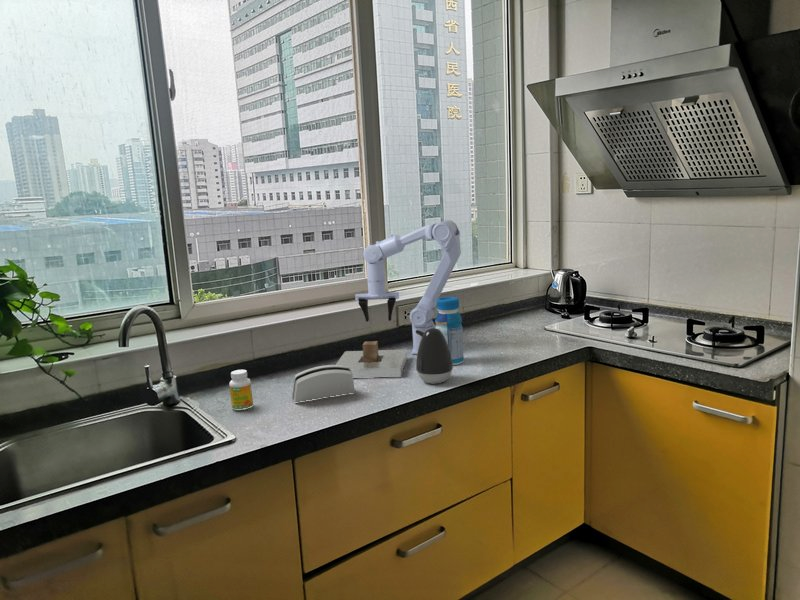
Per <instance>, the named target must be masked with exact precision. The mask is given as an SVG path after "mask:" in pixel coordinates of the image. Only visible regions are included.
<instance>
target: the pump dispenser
mask: <svg viewBox="0 0 800 600" xmlns="http://www.w3.org/2000/svg"><path fill="white" fill-rule="evenodd" d="M416 333H417V334H418V335H420V336H421V337H422V338H421V341H420V344H419V348H418V352H417V354H416V361H415V362H416V363H415V368H416V371H417V374H418V376H419V378H420V379H421V380H422V381H423V382H425V383H427V384H429V383H439V384H442V382H443V383H444V382H446V381H448V379H449V378H450V377H451V375H452V371H453V369H454V365H453V362H452V357H451V353H450V349H449V346H448V344H447V341H446V339H445V337H444V335H443V334H442V332H441V331H440V330H438V329H436V328H430V329H428V330H426V331H425V333H424V332H422V331H419V330H416Z"/></svg>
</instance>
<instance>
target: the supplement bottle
mask: <svg viewBox="0 0 800 600" xmlns="http://www.w3.org/2000/svg"><path fill="white" fill-rule="evenodd" d="M247 371H248V370H246V369H237V370H233V371H231V372H230V377H231V380H230V381H229V392H230V401H231V403H230V404H231V409H232V408H234V409H243V408H248V407H250V406H252V405H253V406H254V400H253V399H254V398H253V391H252V382H251V379H250V377H249V378H248V372H247Z"/></svg>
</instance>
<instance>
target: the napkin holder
mask: <svg viewBox="0 0 800 600" xmlns="http://www.w3.org/2000/svg"><path fill="white" fill-rule="evenodd" d="M354 383H355V382H354V379H353V375H352V372H351V370H350V368H349V367H347V366H342V365H336V364H327V365H320V366H315V367H311V368H308V369H305V370H303V371H301V372H298V373H296V374H295V375H294V379H293V387H292V392H291V400H292V402H293V401H294V402H300V401H306V400H312V399H318V398H323V397H330V396H336V395H342V394H349V393H356V392H355V391H356V390H355V384H354ZM294 402H293V403H294Z"/></svg>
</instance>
